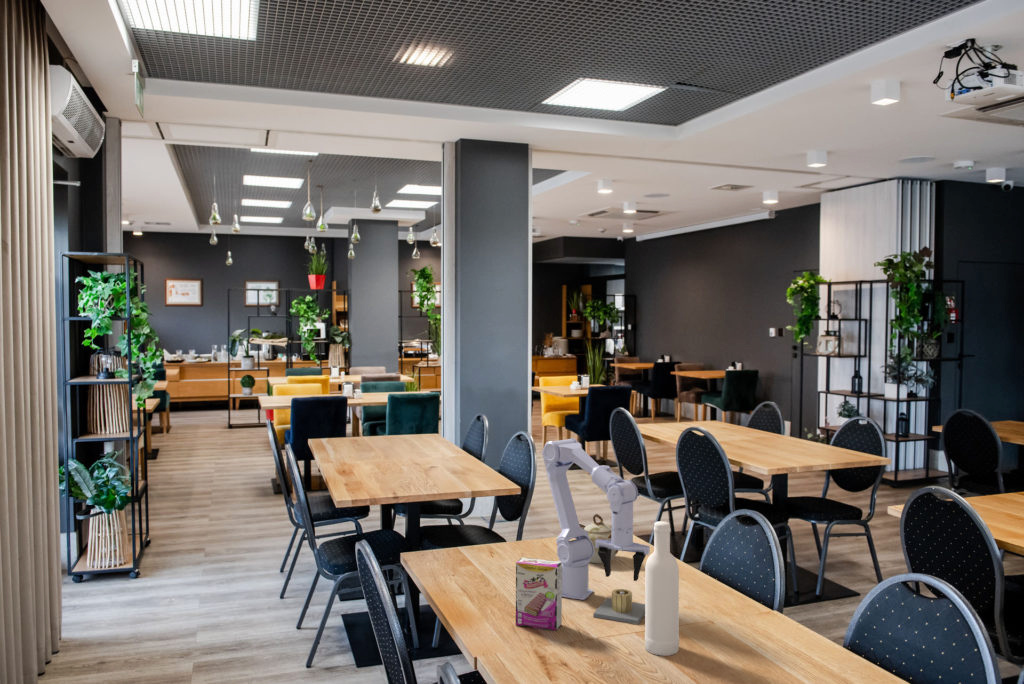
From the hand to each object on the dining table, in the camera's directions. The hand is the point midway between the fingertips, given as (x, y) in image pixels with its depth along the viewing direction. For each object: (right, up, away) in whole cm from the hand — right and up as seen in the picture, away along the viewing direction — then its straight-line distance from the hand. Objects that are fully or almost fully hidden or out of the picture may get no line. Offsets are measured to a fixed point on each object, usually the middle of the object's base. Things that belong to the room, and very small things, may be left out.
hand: (621, 577), depth 199 cm
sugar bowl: (-1, -9, +46) cm, 47 cm away
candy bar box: (-22, -10, -8) cm, 26 cm away
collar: (0, -8, 0) cm, 8 cm away
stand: (0, -9, 0) cm, 9 cm away
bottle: (+6, -10, -23) cm, 25 cm away
